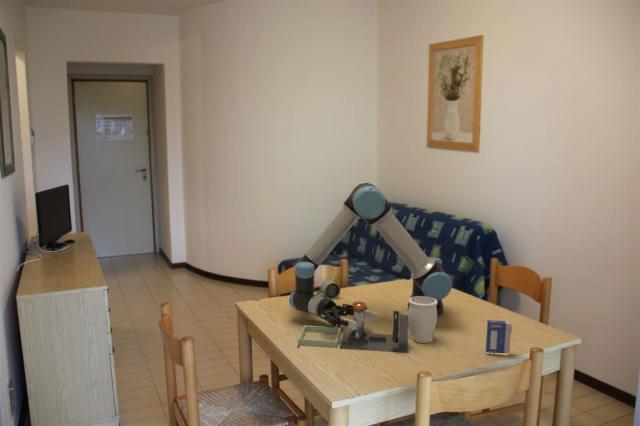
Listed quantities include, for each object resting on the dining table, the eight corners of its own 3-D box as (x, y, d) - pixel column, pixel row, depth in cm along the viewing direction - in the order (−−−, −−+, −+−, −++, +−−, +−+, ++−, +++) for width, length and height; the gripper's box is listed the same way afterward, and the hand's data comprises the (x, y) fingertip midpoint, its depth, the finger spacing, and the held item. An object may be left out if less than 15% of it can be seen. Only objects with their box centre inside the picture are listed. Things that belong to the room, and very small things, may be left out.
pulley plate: (407, 338, 215) (409, 303, 213) (408, 355, 200) (410, 318, 198) (343, 334, 219) (344, 299, 216) (339, 351, 203) (340, 314, 201)
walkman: (486, 354, 202) (488, 321, 200) (485, 351, 204) (487, 318, 202) (510, 356, 200) (512, 323, 198) (508, 353, 203) (511, 320, 201)
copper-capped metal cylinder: (365, 335, 215) (366, 302, 212) (364, 340, 210) (365, 306, 208) (352, 334, 215) (353, 301, 213) (351, 339, 211) (352, 305, 208)
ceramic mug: (334, 293, 268) (334, 277, 267) (340, 298, 261) (340, 282, 259) (312, 295, 265) (312, 279, 263) (318, 301, 257) (318, 284, 256)
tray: (340, 335, 218) (340, 327, 217) (336, 349, 204) (337, 341, 203) (303, 332, 219) (303, 325, 219) (297, 347, 206) (297, 339, 205)
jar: (418, 346, 208) (420, 306, 205) (401, 336, 217) (402, 298, 214) (441, 341, 213) (443, 302, 210) (424, 332, 222) (426, 294, 219)
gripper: (342, 309, 233) (386, 322, 218) (300, 324, 215) (345, 340, 201) (342, 291, 232) (387, 303, 217) (300, 305, 214) (345, 320, 200)
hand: (367, 321), depth 209 cm, fingers open, 12 cm apart
